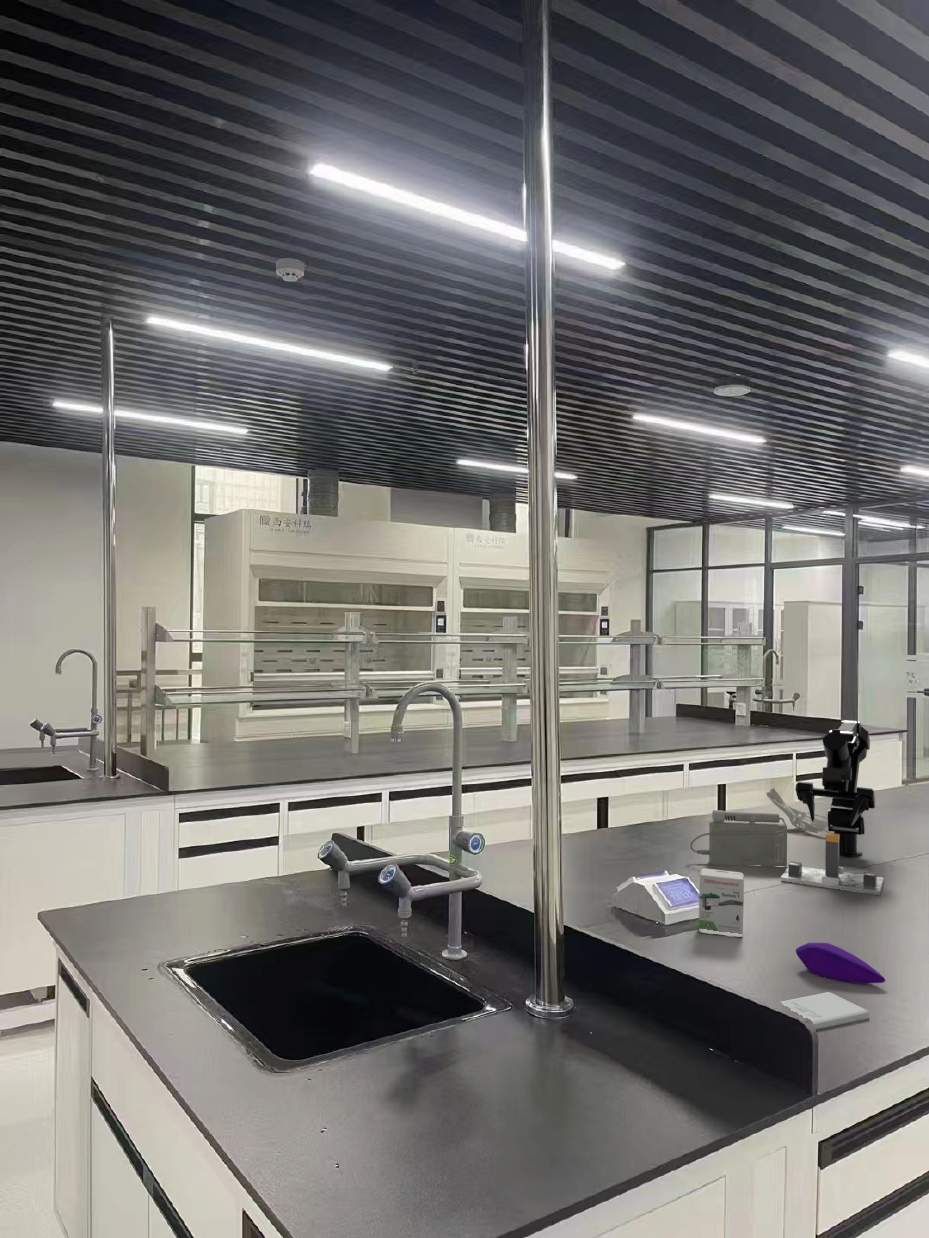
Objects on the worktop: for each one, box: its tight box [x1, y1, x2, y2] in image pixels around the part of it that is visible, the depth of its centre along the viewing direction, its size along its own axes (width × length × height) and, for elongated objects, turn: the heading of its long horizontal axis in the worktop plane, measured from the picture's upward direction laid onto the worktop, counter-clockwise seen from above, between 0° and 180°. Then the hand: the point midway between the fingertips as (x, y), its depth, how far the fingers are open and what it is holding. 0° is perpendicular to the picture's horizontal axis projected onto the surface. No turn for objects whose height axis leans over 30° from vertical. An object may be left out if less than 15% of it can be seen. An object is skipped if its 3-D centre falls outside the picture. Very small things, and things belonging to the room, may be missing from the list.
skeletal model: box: [765, 787, 830, 834], centre depth 271 cm, size 16×9×25 cm
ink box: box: [698, 867, 745, 935], centre depth 172 cm, size 9×5×12 cm, turn 73°
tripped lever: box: [824, 832, 840, 877], centre depth 211 cm, size 3×3×10 cm
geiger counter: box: [689, 809, 788, 867], centre depth 226 cm, size 14×6×25 cm
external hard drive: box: [780, 991, 870, 1030], centre depth 134 cm, size 2×8×12 cm
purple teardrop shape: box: [795, 942, 886, 984], centre depth 149 cm, size 5×5×15 cm
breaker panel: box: [780, 861, 885, 897], centre depth 211 cm, size 14×22×4 cm, turn 61°
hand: (831, 823), depth 219 cm, fingers open, 9 cm apart
